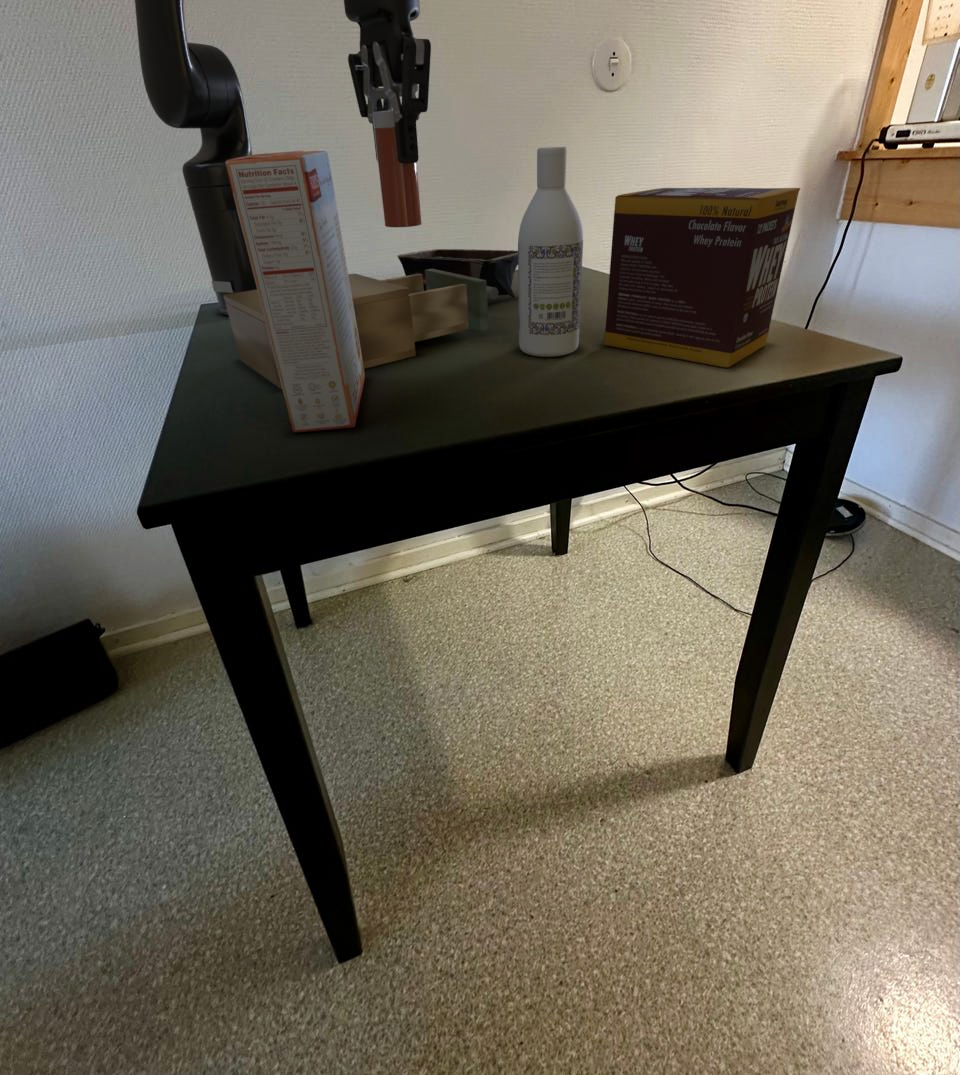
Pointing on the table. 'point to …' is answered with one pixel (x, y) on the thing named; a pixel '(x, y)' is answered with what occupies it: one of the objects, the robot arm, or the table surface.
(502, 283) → the baking dish
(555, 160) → the bath foam
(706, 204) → the supplement box
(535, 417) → the table surface
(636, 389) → the table surface
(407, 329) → the cabinet
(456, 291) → the drawer
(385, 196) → the salt shaker
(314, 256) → the cracker box
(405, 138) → the robot arm
